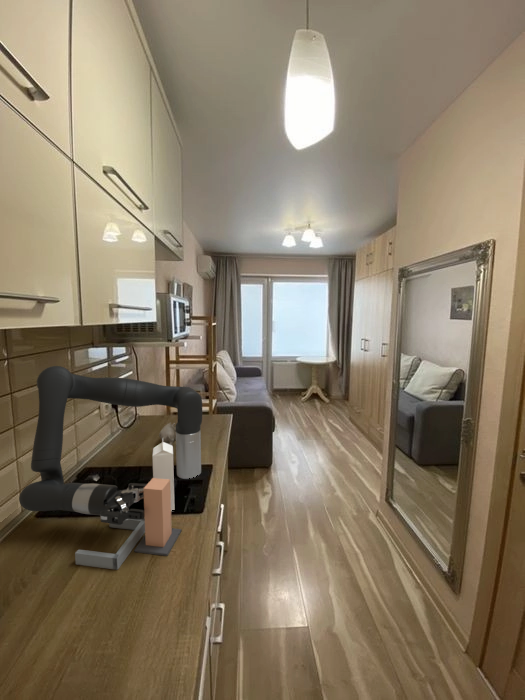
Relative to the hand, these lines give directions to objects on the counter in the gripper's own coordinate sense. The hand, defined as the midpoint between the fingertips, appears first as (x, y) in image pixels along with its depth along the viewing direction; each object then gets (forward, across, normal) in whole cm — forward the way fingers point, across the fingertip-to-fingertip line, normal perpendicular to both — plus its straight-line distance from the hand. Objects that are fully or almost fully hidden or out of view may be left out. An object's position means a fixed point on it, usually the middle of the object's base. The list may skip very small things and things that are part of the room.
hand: (152, 504), depth 81 cm
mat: (+2, 0, +10) cm, 11 cm away
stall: (-9, -3, +11) cm, 14 cm away
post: (+2, 0, +10) cm, 10 cm away
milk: (-3, +14, +11) cm, 18 cm away
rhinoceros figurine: (-22, +59, +11) cm, 63 cm away
